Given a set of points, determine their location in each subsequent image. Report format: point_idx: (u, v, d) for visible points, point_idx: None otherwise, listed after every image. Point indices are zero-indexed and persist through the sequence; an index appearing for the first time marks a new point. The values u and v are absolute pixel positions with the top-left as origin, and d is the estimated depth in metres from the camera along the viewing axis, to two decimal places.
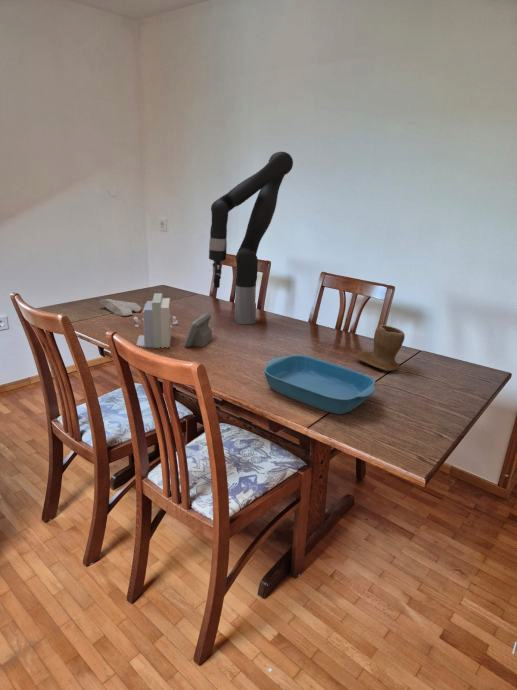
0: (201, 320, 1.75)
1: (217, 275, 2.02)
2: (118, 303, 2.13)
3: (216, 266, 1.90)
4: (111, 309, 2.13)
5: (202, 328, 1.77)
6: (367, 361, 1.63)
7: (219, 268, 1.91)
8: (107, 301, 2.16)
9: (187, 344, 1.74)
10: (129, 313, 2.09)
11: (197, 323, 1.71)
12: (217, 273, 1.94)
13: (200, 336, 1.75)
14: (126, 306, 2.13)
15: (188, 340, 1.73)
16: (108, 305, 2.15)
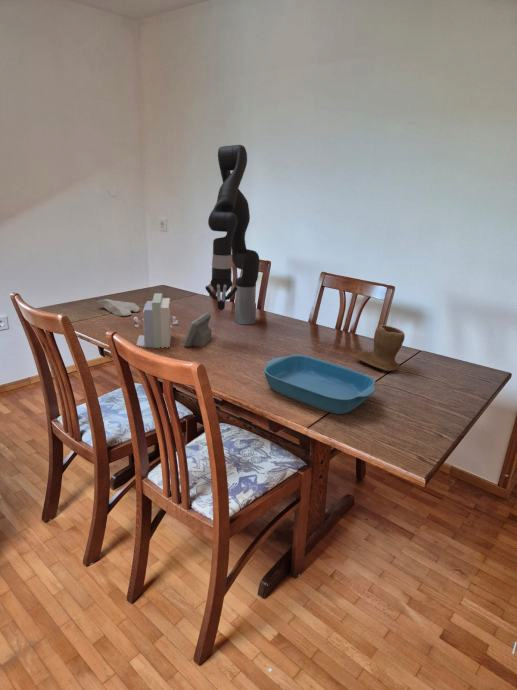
0: (201, 320, 1.75)
1: None
2: (117, 303, 2.13)
3: None
4: (110, 309, 2.13)
5: (202, 328, 1.77)
6: (367, 361, 1.63)
7: None
8: (105, 301, 2.15)
9: (186, 344, 1.74)
10: (128, 313, 2.09)
11: (196, 323, 1.71)
12: None
13: (200, 336, 1.75)
14: (125, 306, 2.13)
15: (187, 340, 1.73)
16: (107, 305, 2.15)
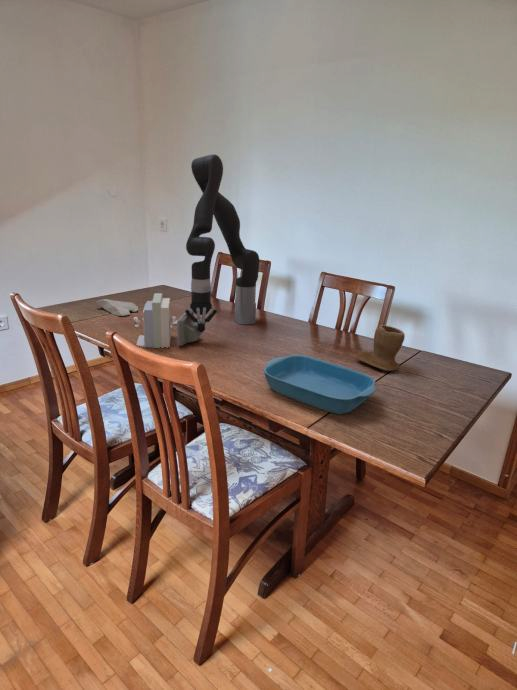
0: (185, 316, 1.75)
1: (201, 322, 1.79)
2: (115, 303, 2.13)
3: None
4: (108, 309, 2.13)
5: (189, 324, 1.77)
6: (367, 361, 1.63)
7: None
8: (104, 301, 2.15)
9: (180, 343, 1.73)
10: (127, 313, 2.08)
11: (182, 319, 1.71)
12: None
13: (190, 331, 1.75)
14: (123, 306, 2.13)
15: (180, 338, 1.72)
16: (105, 305, 2.15)
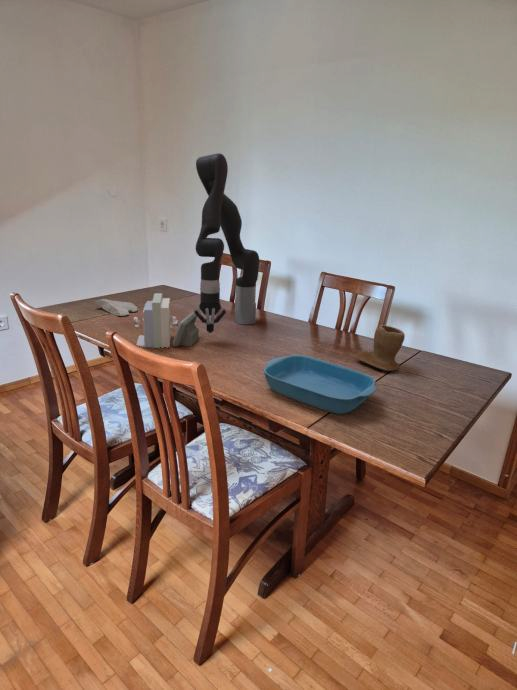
0: (188, 319, 1.75)
1: (210, 323, 1.80)
2: (114, 303, 2.13)
3: None
4: (107, 309, 2.13)
5: (189, 327, 1.77)
6: (367, 361, 1.63)
7: None
8: (103, 301, 2.15)
9: (175, 344, 1.73)
10: (126, 313, 2.08)
11: (185, 322, 1.71)
12: None
13: (188, 335, 1.75)
14: (123, 306, 2.13)
15: (176, 340, 1.73)
16: (104, 305, 2.15)
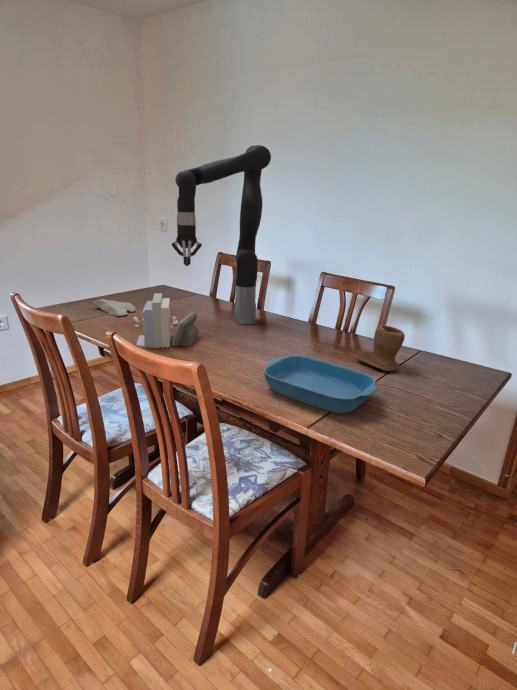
0: (188, 319, 1.75)
1: (186, 256, 1.88)
2: (113, 303, 2.13)
3: None
4: (106, 309, 2.12)
5: (189, 327, 1.78)
6: (367, 361, 1.63)
7: None
8: (101, 301, 2.15)
9: (174, 343, 1.73)
10: (124, 313, 2.08)
11: (184, 322, 1.72)
12: (190, 251, 1.87)
13: (187, 335, 1.75)
14: (121, 306, 2.12)
15: (175, 339, 1.73)
16: (102, 305, 2.14)
